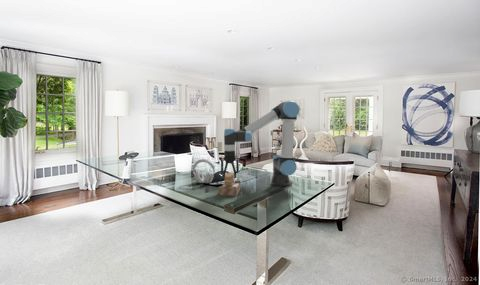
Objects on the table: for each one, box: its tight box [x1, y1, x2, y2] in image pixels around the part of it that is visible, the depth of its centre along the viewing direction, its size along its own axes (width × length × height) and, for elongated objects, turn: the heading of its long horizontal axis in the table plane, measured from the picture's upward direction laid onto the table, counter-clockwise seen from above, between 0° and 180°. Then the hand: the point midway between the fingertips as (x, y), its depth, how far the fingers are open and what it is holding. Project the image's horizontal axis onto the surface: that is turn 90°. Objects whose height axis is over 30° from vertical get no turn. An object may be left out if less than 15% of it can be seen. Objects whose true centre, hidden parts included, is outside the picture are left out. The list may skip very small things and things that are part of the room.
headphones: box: [192, 158, 216, 184], centre depth 216 cm, size 18×10×20 cm, turn 79°
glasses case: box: [223, 172, 234, 186], centre depth 190 cm, size 5×14×6 cm, turn 172°
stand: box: [218, 179, 241, 197], centre depth 191 cm, size 12×20×6 cm, turn 171°
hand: (229, 182), depth 190 cm, fingers closed on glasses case, 5 cm apart
